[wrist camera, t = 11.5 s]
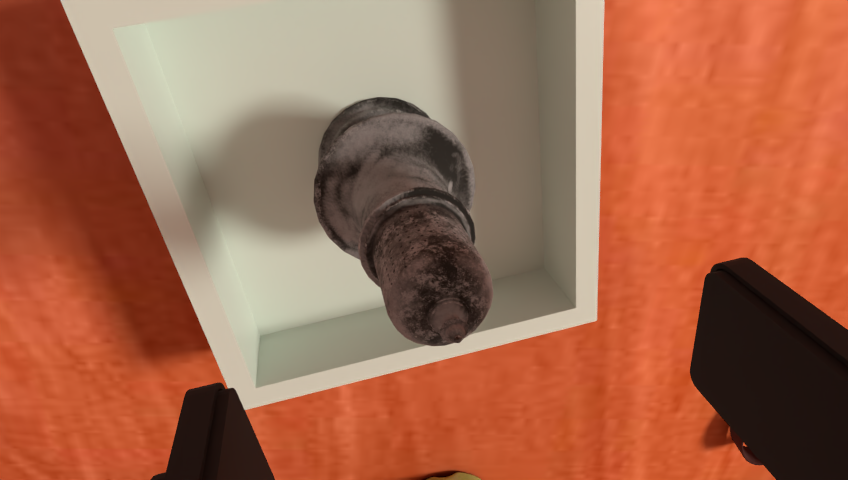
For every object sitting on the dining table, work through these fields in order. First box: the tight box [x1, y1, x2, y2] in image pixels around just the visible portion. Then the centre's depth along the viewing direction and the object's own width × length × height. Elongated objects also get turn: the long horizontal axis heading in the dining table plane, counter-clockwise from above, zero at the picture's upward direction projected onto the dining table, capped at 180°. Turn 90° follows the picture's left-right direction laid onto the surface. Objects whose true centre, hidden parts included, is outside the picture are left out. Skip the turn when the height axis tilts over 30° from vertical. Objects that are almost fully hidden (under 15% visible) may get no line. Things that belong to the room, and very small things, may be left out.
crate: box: [60, 0, 604, 410], centre depth 22 cm, size 16×16×4 cm
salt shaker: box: [314, 97, 493, 346], centre depth 17 cm, size 6×6×12 cm
